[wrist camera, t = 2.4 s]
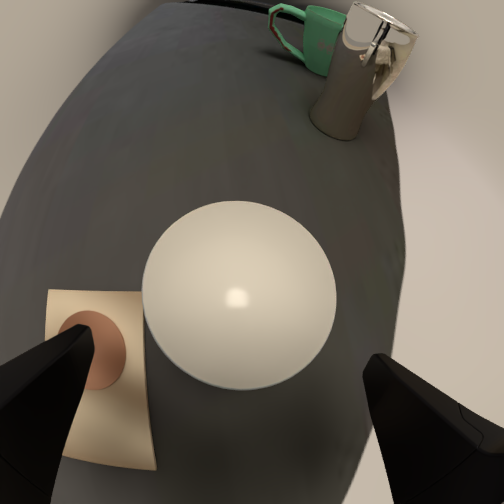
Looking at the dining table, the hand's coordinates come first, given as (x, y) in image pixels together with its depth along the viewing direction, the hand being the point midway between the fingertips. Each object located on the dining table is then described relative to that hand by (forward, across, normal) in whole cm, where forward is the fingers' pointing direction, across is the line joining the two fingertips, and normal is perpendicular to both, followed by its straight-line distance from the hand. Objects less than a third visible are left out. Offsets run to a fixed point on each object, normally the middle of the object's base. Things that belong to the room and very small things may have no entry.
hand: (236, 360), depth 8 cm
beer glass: (+25, -10, -11) cm, 29 cm away
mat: (+5, +8, +9) cm, 13 cm away
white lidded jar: (+8, 0, +5) cm, 10 cm away
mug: (+36, -8, -21) cm, 42 cm away
